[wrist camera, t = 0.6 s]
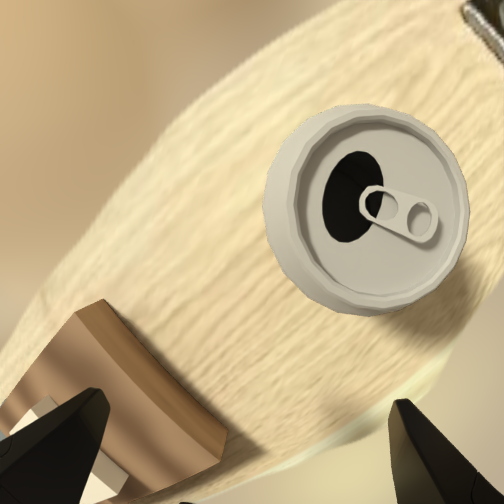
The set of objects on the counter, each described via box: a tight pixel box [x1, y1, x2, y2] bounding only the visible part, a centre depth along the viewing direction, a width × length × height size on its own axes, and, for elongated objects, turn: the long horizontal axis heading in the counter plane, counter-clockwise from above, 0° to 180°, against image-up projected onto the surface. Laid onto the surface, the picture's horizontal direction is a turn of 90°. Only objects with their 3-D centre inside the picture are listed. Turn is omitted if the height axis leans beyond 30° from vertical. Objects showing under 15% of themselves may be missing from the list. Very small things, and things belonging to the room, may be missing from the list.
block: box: [0, 299, 228, 504], centre depth 22 cm, size 20×14×4 cm
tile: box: [9, 395, 129, 504], centre depth 18 cm, size 6×9×2 cm, turn 42°
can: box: [262, 104, 470, 317], centre depth 15 cm, size 8×8×12 cm
